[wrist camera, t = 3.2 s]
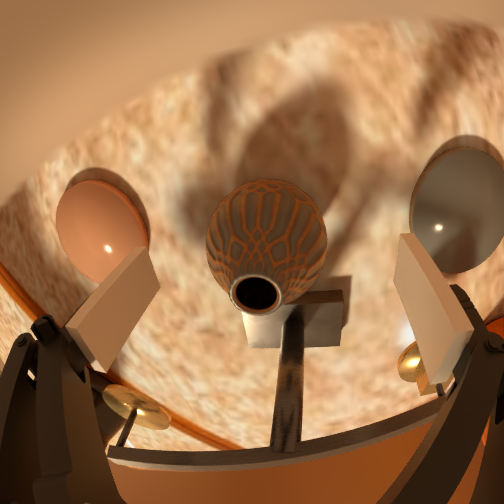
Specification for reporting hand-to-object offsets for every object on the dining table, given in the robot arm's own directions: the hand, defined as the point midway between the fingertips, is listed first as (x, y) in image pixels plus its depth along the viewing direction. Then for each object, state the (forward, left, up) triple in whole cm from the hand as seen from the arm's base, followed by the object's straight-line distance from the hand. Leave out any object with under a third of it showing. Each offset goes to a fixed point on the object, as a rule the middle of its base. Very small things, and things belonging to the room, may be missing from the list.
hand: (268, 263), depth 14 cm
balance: (+1, -9, -6) cm, 11 cm away
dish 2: (+15, 0, -6) cm, 16 cm away
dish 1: (-15, 0, -6) cm, 17 cm away
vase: (0, 0, -7) cm, 7 cm away
